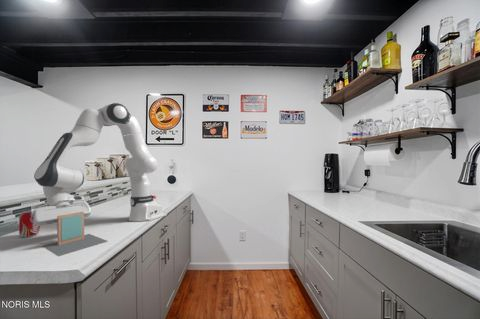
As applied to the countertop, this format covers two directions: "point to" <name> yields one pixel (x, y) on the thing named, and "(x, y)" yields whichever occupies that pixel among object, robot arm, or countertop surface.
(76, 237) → the tile
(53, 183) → the robot arm
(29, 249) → the countertop surface
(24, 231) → the soda can
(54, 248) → the mat
